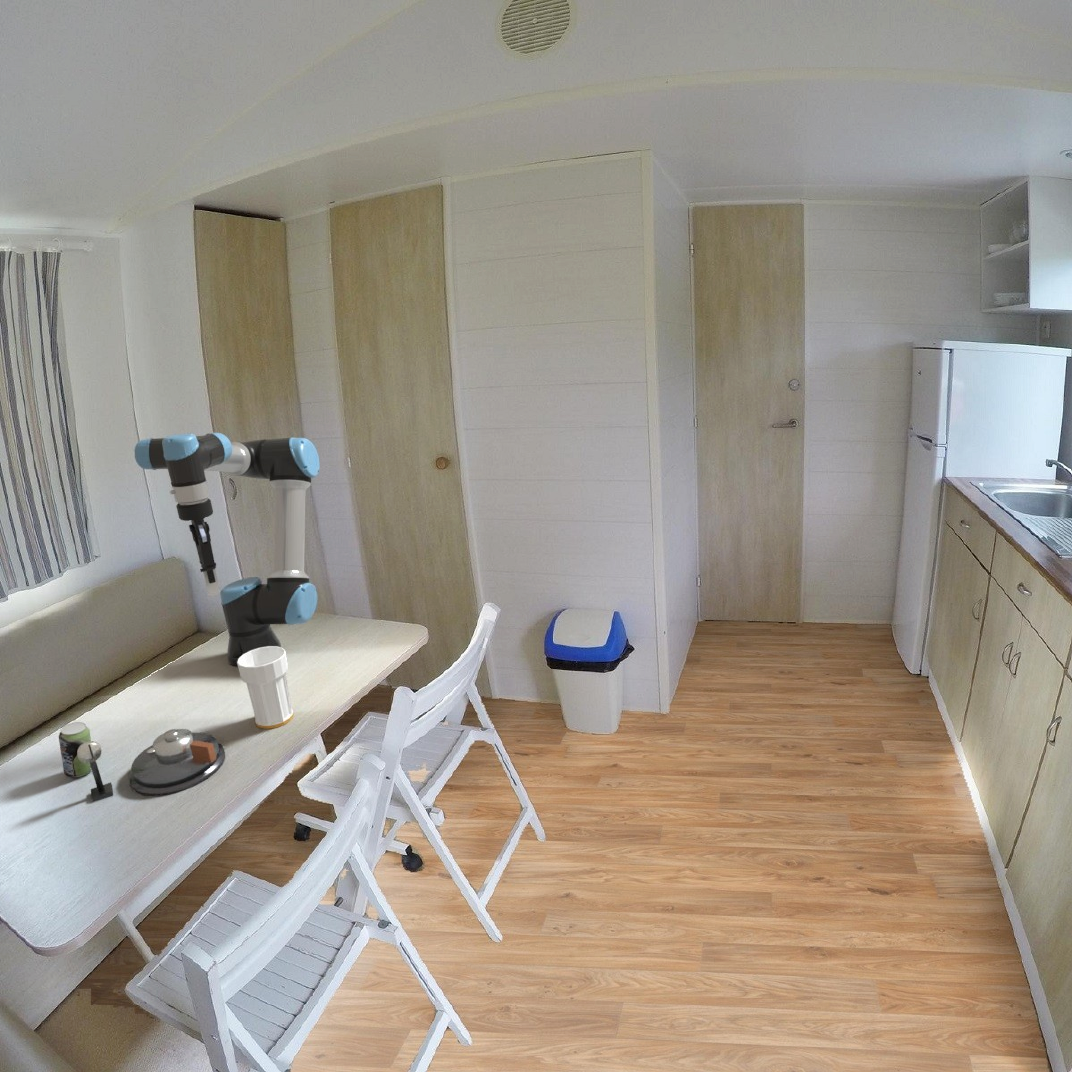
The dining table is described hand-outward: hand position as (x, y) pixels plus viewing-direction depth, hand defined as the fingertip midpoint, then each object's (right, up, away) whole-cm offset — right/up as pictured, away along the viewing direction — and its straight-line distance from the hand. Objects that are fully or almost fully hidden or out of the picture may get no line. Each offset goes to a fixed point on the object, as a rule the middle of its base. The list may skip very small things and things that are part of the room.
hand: (214, 593), depth 187 cm
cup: (+13, -32, +4) cm, 35 cm away
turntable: (-2, -37, -14) cm, 40 cm away
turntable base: (-3, -39, -13) cm, 41 cm away
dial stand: (-16, -42, -20) cm, 49 cm away
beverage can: (-25, -40, -11) cm, 49 cm away
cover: (-3, -35, -14) cm, 38 cm away
